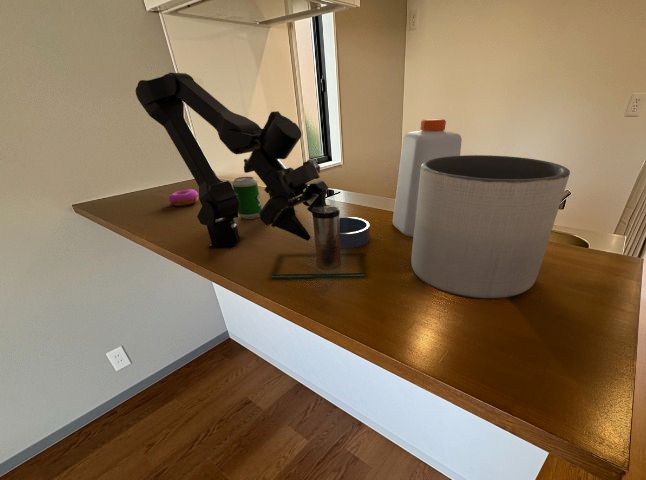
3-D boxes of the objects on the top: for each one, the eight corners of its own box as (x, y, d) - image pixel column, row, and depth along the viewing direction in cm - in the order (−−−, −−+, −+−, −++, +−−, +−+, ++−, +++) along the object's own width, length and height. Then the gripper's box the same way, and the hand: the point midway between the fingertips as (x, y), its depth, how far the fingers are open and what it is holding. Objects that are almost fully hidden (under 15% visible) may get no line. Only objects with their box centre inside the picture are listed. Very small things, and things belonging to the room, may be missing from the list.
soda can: (259, 219, 103) (252, 181, 96) (236, 220, 103) (227, 181, 97) (265, 212, 109) (259, 175, 103) (243, 212, 109) (236, 176, 103)
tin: (311, 267, 72) (306, 210, 65) (325, 257, 77) (321, 203, 70) (333, 272, 70) (330, 214, 63) (346, 262, 74) (344, 206, 67)
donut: (182, 199, 125) (178, 187, 123) (206, 200, 124) (203, 188, 122) (165, 207, 117) (161, 194, 114) (191, 207, 115) (187, 195, 113)
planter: (411, 247, 82) (419, 154, 70) (515, 252, 78) (543, 155, 66) (409, 299, 61) (420, 179, 49) (552, 310, 57) (602, 182, 45)
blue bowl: (318, 251, 81) (317, 234, 79) (322, 232, 92) (321, 217, 90) (370, 250, 81) (370, 233, 79) (367, 231, 92) (367, 216, 90)
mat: (271, 279, 69) (271, 277, 69) (281, 255, 79) (281, 254, 79) (364, 277, 69) (364, 275, 69) (362, 254, 79) (362, 252, 79)
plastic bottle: (408, 241, 85) (418, 122, 70) (388, 223, 98) (393, 118, 83) (458, 235, 89) (478, 120, 74) (432, 218, 101) (445, 117, 86)
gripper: (261, 153, 56) (318, 223, 57) (318, 141, 70) (363, 198, 71) (237, 194, 63) (288, 255, 65) (293, 176, 77) (334, 227, 79)
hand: (321, 232), depth 70 cm, fingers open, 9 cm apart
